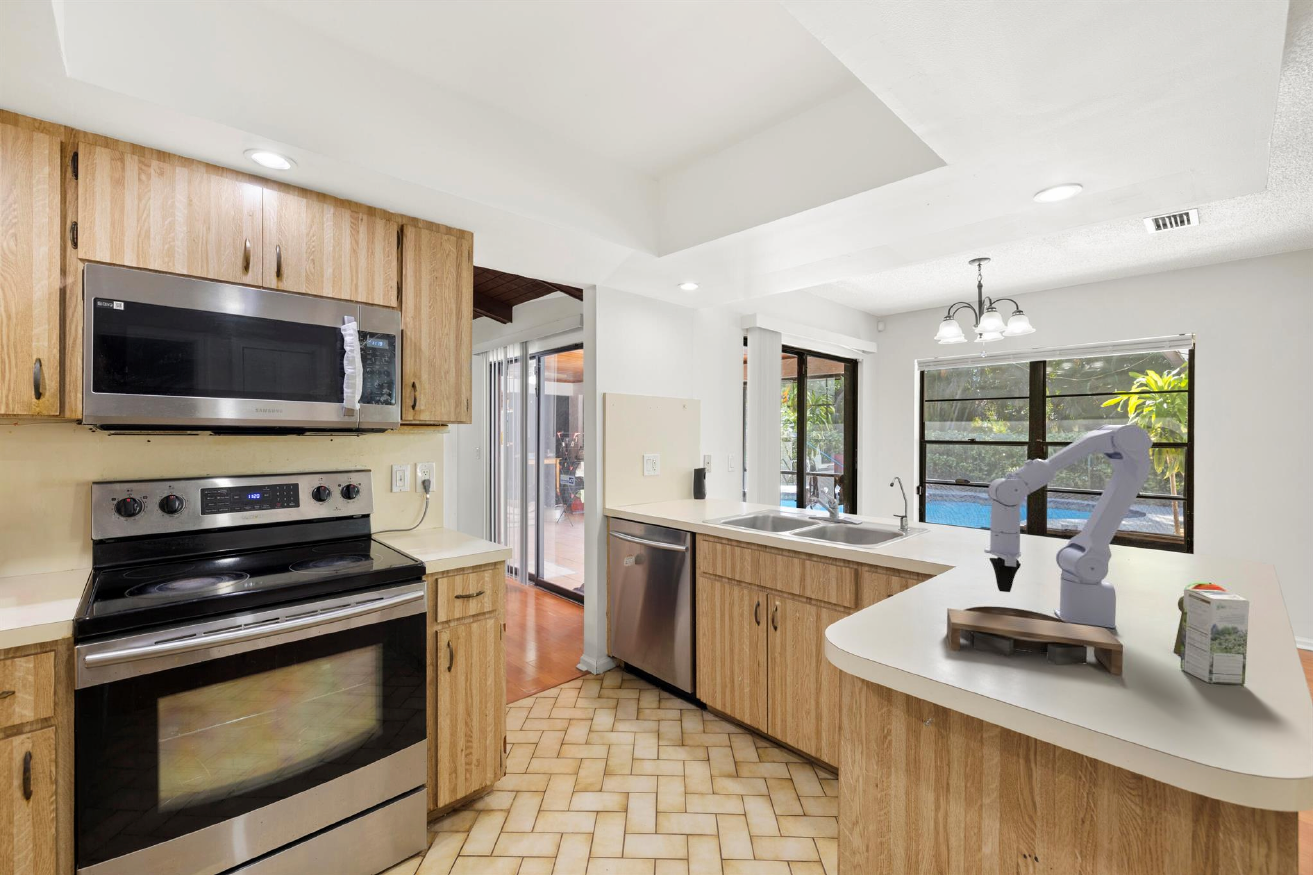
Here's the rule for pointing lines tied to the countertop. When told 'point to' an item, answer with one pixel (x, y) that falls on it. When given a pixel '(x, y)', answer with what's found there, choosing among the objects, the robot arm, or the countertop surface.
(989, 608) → the plant saucer
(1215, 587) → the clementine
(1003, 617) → the walnut shelf
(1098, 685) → the countertop surface
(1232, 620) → the syrup box
